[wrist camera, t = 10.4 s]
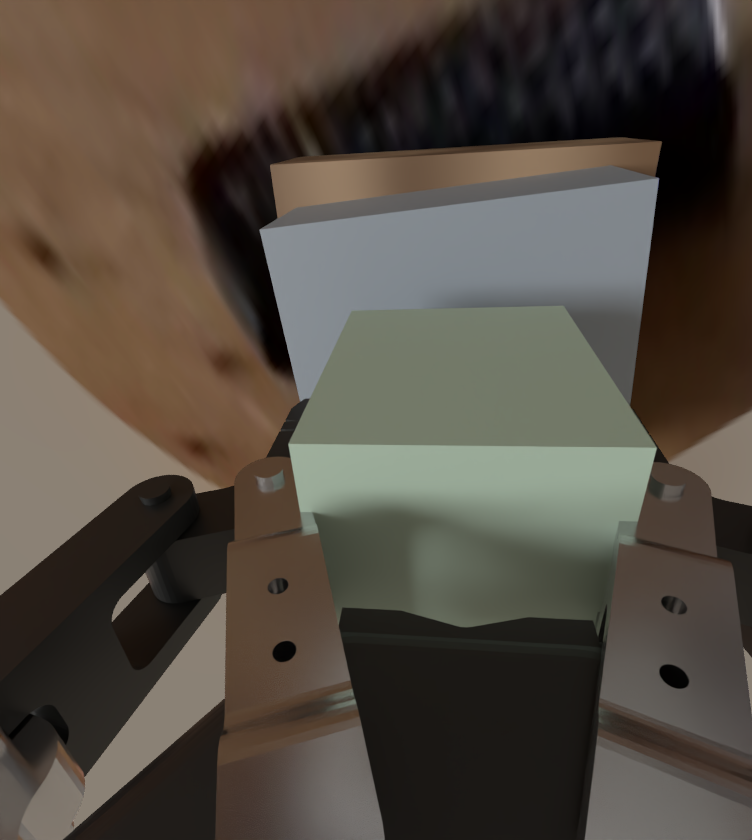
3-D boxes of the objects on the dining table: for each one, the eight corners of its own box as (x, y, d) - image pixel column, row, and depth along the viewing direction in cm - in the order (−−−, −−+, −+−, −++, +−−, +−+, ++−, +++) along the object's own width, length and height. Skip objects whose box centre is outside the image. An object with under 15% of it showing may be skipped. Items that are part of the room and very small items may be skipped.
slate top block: (611, 165, 15) (658, 178, 12) (587, 441, 20) (617, 506, 17) (296, 207, 17) (259, 229, 14) (345, 453, 22) (327, 514, 19)
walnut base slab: (617, 136, 19) (661, 141, 15) (573, 416, 25) (597, 470, 21) (302, 156, 20) (270, 165, 17) (332, 415, 26) (314, 466, 23)
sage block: (563, 305, 12) (657, 448, 7) (541, 478, 14) (597, 678, 9) (351, 310, 12) (288, 443, 7) (366, 475, 15) (326, 660, 10)
